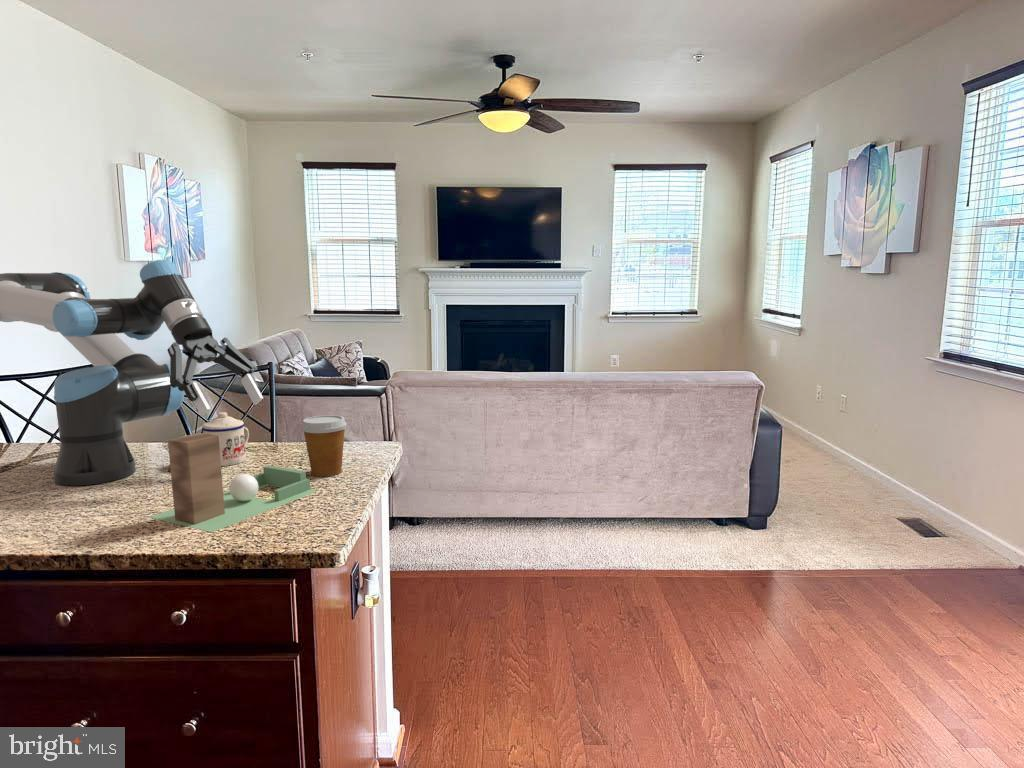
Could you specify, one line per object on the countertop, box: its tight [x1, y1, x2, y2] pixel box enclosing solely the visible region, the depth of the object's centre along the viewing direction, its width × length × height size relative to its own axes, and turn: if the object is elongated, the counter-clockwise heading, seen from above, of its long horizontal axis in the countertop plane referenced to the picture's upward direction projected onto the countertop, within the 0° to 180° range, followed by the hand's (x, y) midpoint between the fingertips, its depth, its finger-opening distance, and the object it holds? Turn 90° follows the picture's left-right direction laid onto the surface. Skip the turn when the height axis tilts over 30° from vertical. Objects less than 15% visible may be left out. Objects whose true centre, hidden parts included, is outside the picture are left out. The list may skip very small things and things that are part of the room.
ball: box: [228, 473, 259, 501], centre depth 125 cm, size 5×5×5 cm
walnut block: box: [167, 432, 225, 525], centre depth 116 cm, size 5×6×14 cm
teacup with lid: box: [201, 411, 250, 467], centre depth 159 cm, size 12×9×12 cm
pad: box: [149, 465, 318, 533], centre depth 124 cm, size 16×24×5 cm, turn 152°
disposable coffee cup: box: [300, 414, 347, 477], centre depth 147 cm, size 10×10×12 cm
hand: (233, 407), depth 144 cm, fingers open, 13 cm apart
